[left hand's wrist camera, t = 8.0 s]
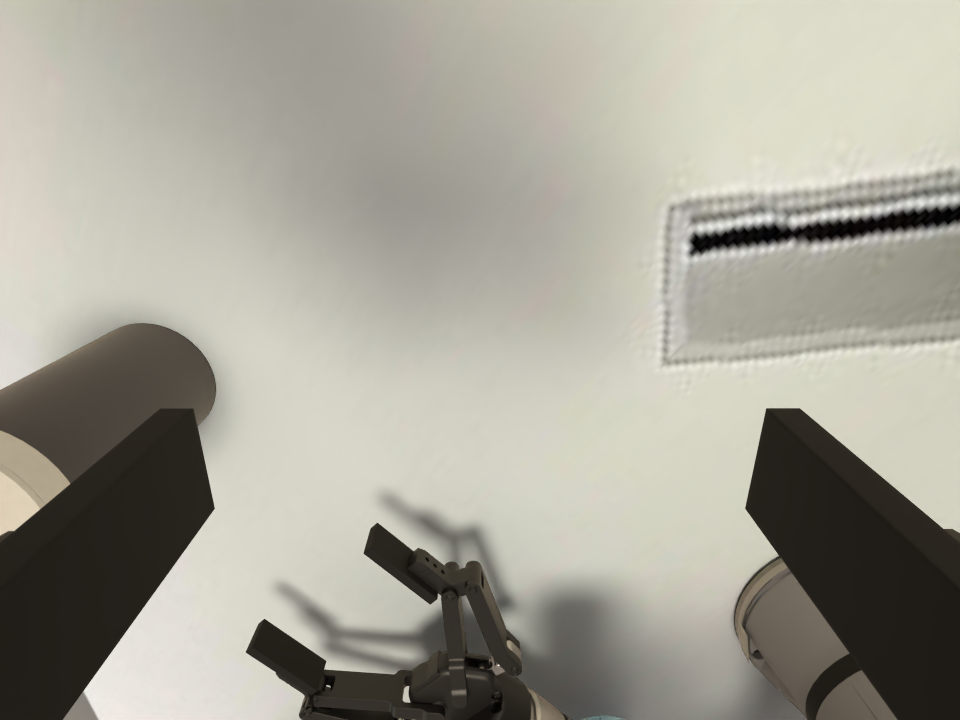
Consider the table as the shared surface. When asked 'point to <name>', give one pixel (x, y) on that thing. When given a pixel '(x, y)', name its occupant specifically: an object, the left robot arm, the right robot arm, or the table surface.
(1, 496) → the lid
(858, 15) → the table surface
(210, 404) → the jar
